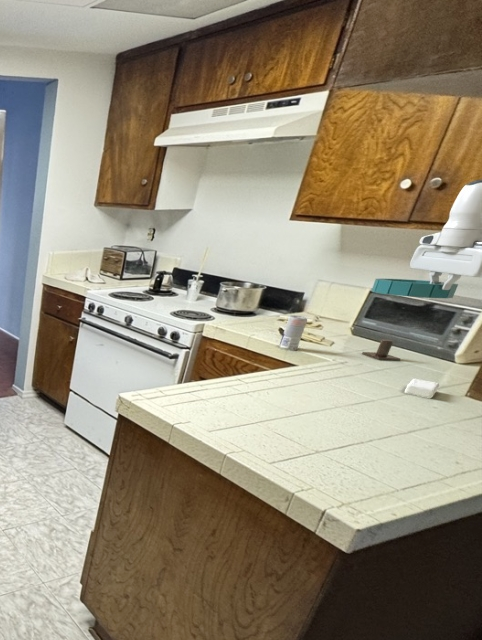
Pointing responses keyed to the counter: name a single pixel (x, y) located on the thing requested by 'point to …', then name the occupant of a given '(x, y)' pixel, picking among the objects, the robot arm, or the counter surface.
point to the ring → (412, 288)
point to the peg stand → (382, 351)
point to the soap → (422, 388)
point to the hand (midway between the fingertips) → (438, 288)
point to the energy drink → (293, 332)
